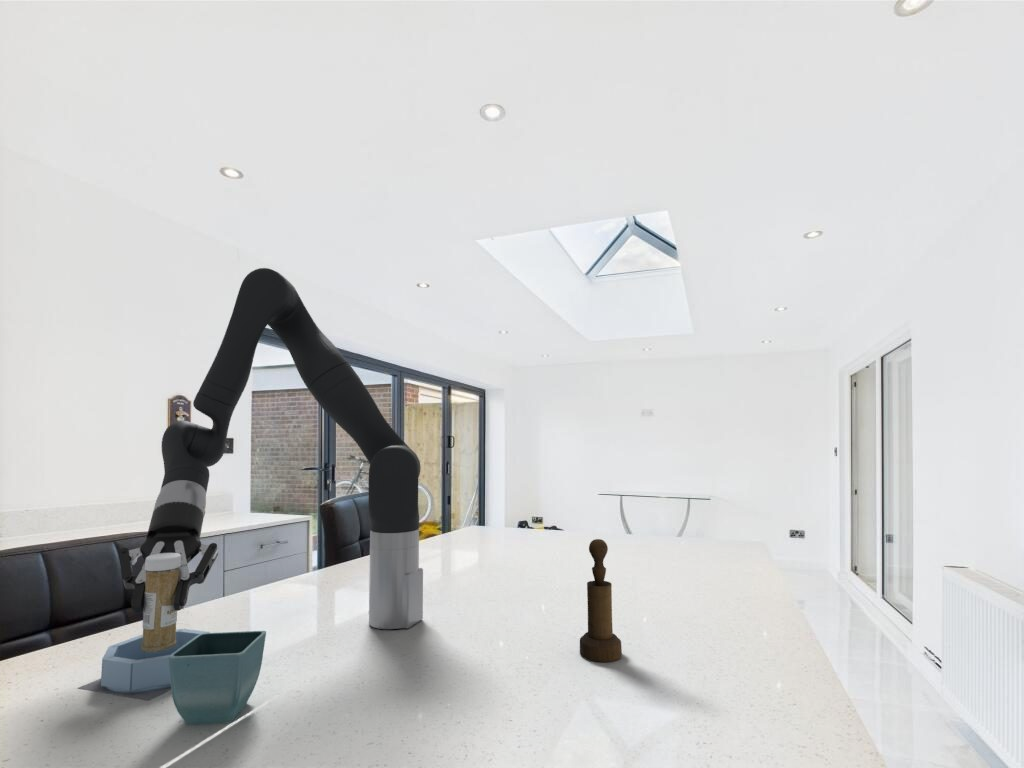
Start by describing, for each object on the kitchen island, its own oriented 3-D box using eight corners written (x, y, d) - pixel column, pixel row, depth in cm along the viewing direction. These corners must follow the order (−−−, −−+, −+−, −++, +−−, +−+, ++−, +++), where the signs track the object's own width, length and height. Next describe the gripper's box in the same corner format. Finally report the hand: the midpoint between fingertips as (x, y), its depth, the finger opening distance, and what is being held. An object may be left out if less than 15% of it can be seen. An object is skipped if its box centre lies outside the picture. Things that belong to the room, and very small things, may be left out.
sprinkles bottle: (177, 649, 84) (182, 555, 85) (140, 655, 81) (145, 559, 82) (175, 639, 88) (180, 550, 89) (139, 645, 85) (145, 553, 86)
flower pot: (197, 701, 76) (200, 631, 77) (265, 698, 77) (267, 629, 77) (162, 736, 67) (166, 656, 68) (240, 732, 68) (242, 653, 69)
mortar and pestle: (624, 649, 93) (621, 537, 95) (618, 665, 87) (615, 544, 89) (584, 645, 95) (582, 535, 97) (575, 659, 89) (573, 542, 91)
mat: (230, 663, 89) (230, 660, 89) (148, 703, 75) (148, 700, 75) (166, 654, 93) (166, 651, 93) (77, 690, 79) (77, 687, 79)
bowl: (228, 661, 88) (229, 634, 89) (151, 699, 76) (153, 666, 76) (163, 652, 92) (164, 626, 93) (80, 686, 80) (81, 656, 80)
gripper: (125, 501, 91) (94, 600, 78) (224, 498, 96) (210, 591, 83) (132, 530, 95) (104, 628, 83) (227, 525, 100) (214, 617, 88)
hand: (157, 608), depth 83 cm, fingers closed on sprinkles bottle, 4 cm apart
